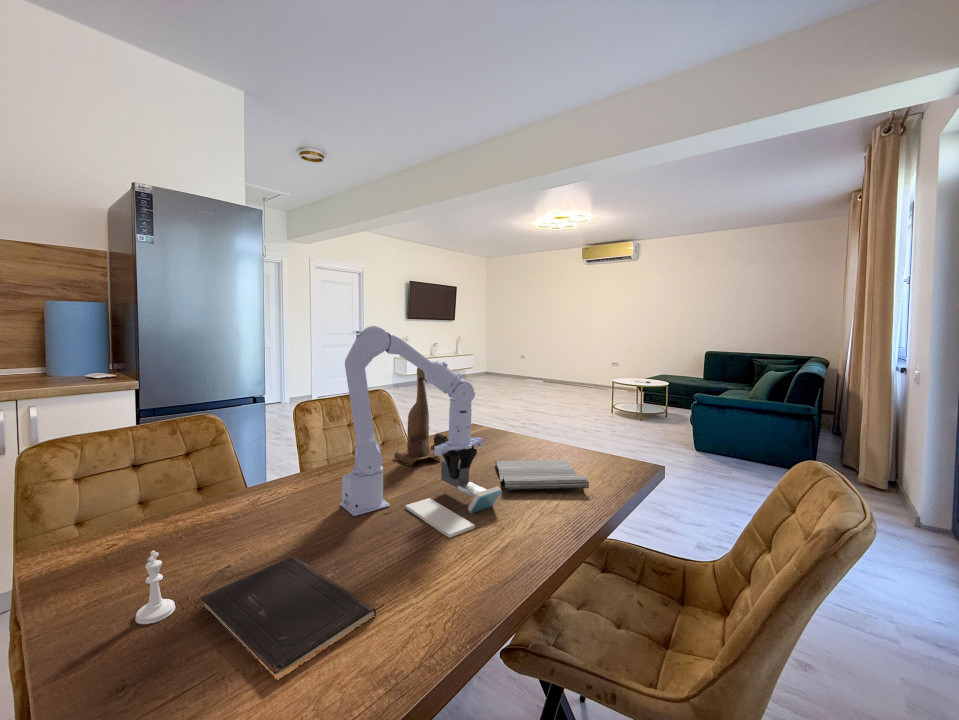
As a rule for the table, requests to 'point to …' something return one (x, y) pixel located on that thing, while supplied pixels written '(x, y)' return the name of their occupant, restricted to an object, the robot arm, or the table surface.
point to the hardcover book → (286, 612)
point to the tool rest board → (440, 517)
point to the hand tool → (441, 440)
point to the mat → (540, 475)
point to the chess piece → (154, 596)
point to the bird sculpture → (417, 427)
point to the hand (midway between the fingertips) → (458, 476)
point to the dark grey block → (460, 479)
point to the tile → (484, 499)
